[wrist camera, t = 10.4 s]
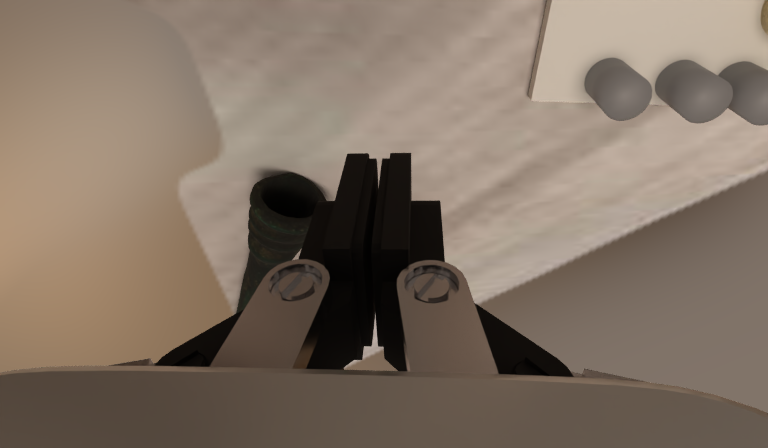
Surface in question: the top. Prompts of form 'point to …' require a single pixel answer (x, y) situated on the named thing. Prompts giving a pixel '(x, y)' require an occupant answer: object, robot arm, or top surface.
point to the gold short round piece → (764, 16)
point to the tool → (276, 226)
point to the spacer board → (655, 57)
